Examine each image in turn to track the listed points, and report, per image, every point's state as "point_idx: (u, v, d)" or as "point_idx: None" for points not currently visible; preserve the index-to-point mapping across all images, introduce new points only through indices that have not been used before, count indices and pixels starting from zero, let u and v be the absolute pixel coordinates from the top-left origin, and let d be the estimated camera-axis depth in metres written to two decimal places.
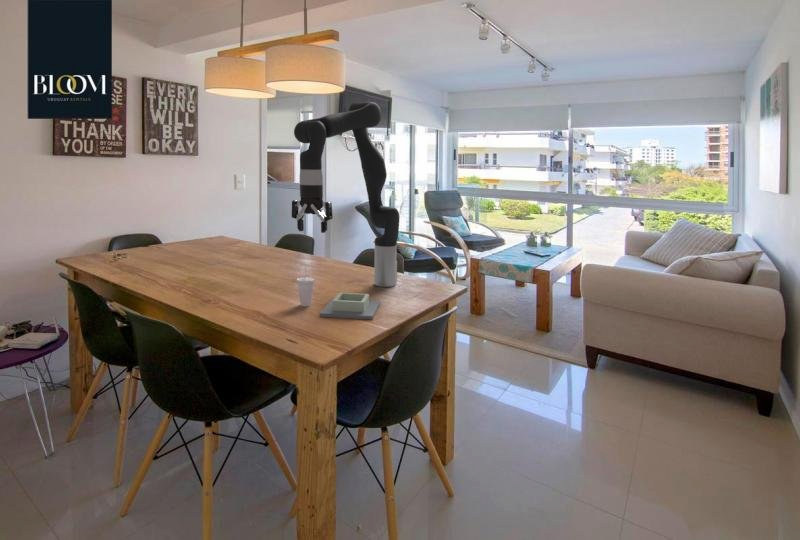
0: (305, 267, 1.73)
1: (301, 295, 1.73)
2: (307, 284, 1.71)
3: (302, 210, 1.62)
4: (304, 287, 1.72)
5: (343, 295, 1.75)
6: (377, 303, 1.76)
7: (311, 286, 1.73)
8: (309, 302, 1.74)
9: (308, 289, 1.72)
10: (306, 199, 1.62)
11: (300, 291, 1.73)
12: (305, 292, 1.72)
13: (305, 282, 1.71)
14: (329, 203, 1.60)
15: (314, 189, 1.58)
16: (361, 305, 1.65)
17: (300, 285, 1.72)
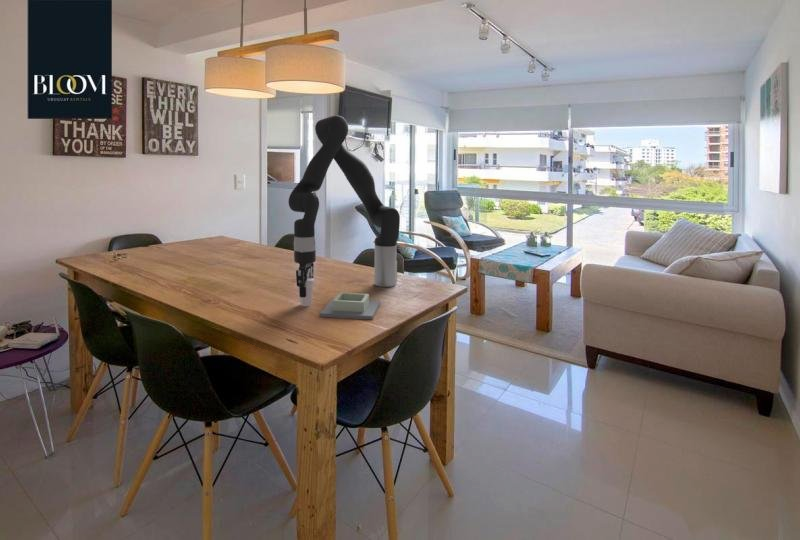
0: None
1: None
2: (307, 284, 1.71)
3: (308, 275, 1.71)
4: None
5: (343, 295, 1.75)
6: (377, 303, 1.76)
7: (311, 286, 1.73)
8: (309, 302, 1.74)
9: (308, 289, 1.72)
10: (307, 264, 1.71)
11: None
12: None
13: None
14: None
15: None
16: (361, 305, 1.65)
17: None
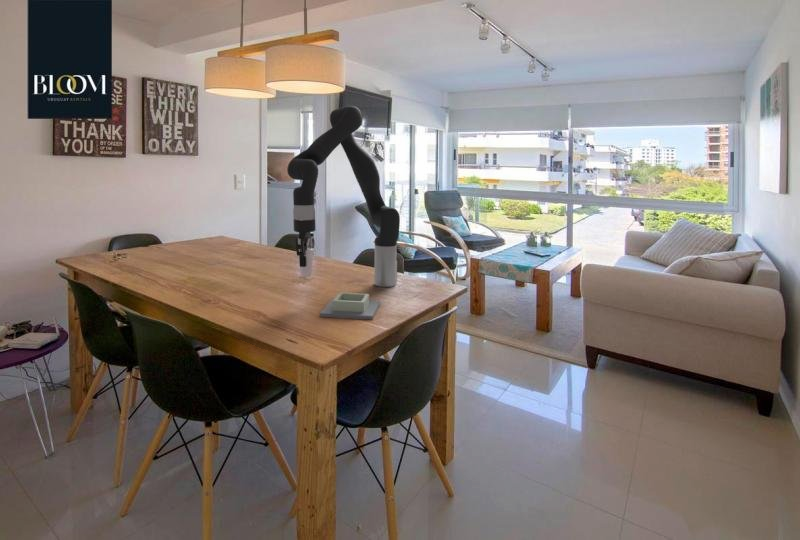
0: None
1: None
2: (307, 253, 1.69)
3: (308, 244, 1.69)
4: None
5: (343, 295, 1.75)
6: (377, 303, 1.76)
7: (311, 256, 1.71)
8: (309, 272, 1.72)
9: (308, 259, 1.70)
10: (306, 233, 1.69)
11: None
12: None
13: None
14: None
15: None
16: (361, 305, 1.65)
17: None
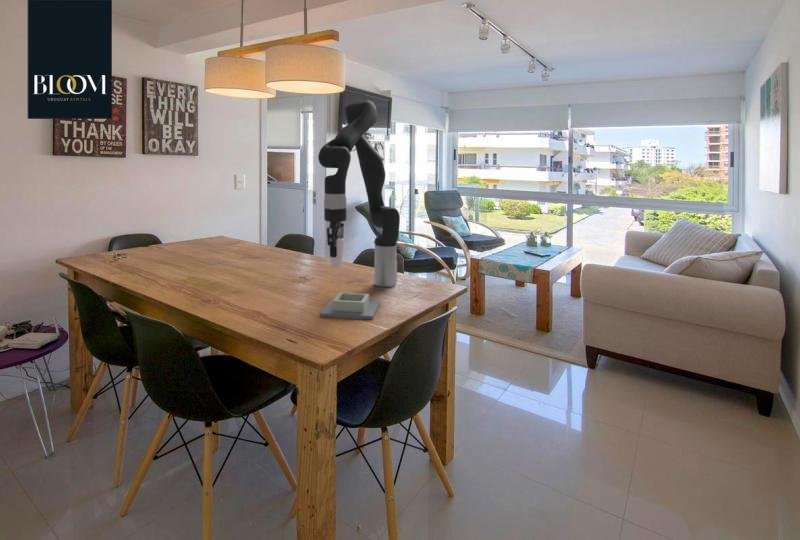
0: None
1: None
2: (338, 243, 1.65)
3: (338, 234, 1.65)
4: None
5: (343, 295, 1.75)
6: (377, 303, 1.76)
7: (342, 246, 1.67)
8: (339, 263, 1.68)
9: (339, 249, 1.66)
10: (337, 222, 1.65)
11: None
12: None
13: None
14: None
15: None
16: (361, 305, 1.65)
17: None
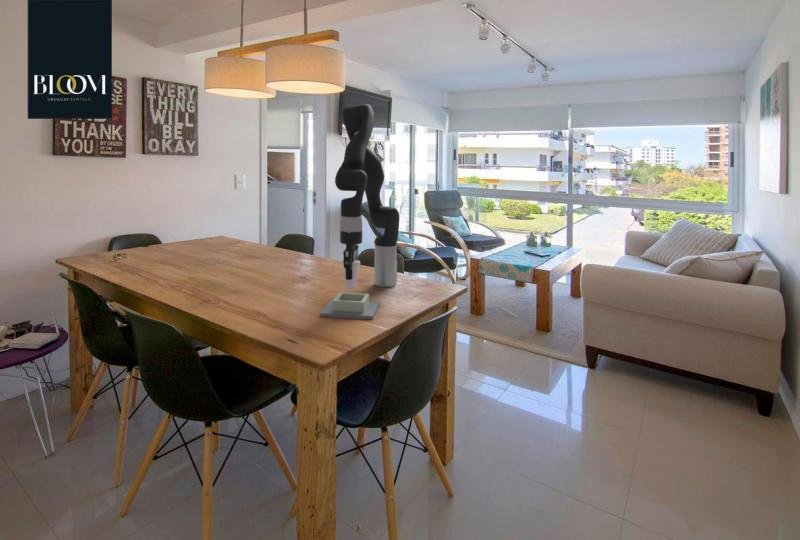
0: None
1: None
2: (353, 266, 1.65)
3: (354, 257, 1.65)
4: None
5: (343, 295, 1.75)
6: (377, 303, 1.76)
7: (357, 268, 1.67)
8: (355, 285, 1.68)
9: (354, 271, 1.66)
10: (353, 245, 1.65)
11: None
12: None
13: None
14: None
15: None
16: (361, 305, 1.65)
17: None
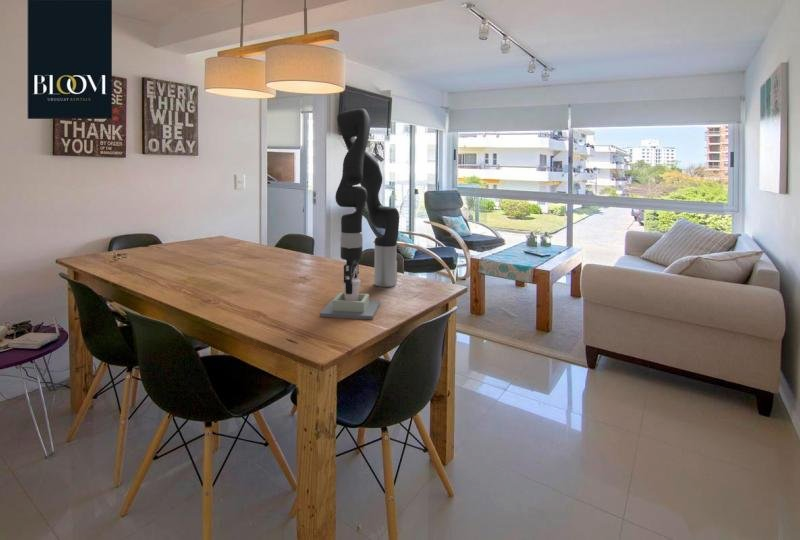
0: None
1: (347, 296, 1.68)
2: (354, 285, 1.67)
3: (354, 272, 1.65)
4: None
5: (343, 295, 1.75)
6: (377, 303, 1.76)
7: (358, 287, 1.68)
8: None
9: (355, 290, 1.68)
10: (354, 261, 1.66)
11: None
12: (352, 293, 1.68)
13: (352, 283, 1.66)
14: None
15: None
16: (361, 305, 1.65)
17: None
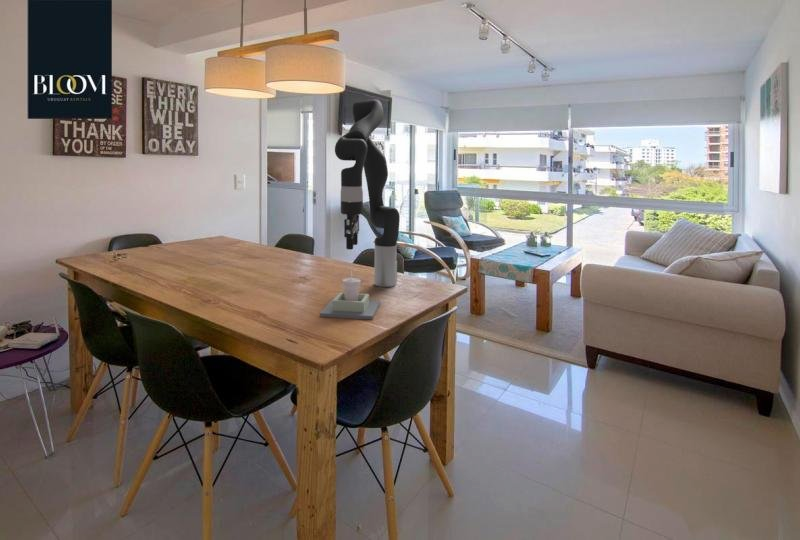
0: (351, 268, 1.68)
1: (347, 296, 1.68)
2: (354, 285, 1.67)
3: (355, 227, 1.63)
4: (351, 288, 1.67)
5: (343, 295, 1.75)
6: (377, 303, 1.76)
7: (358, 287, 1.68)
8: None
9: (355, 290, 1.68)
10: (354, 215, 1.64)
11: (346, 292, 1.68)
12: (352, 293, 1.68)
13: (352, 283, 1.66)
14: None
15: None
16: (361, 305, 1.65)
17: (347, 286, 1.67)
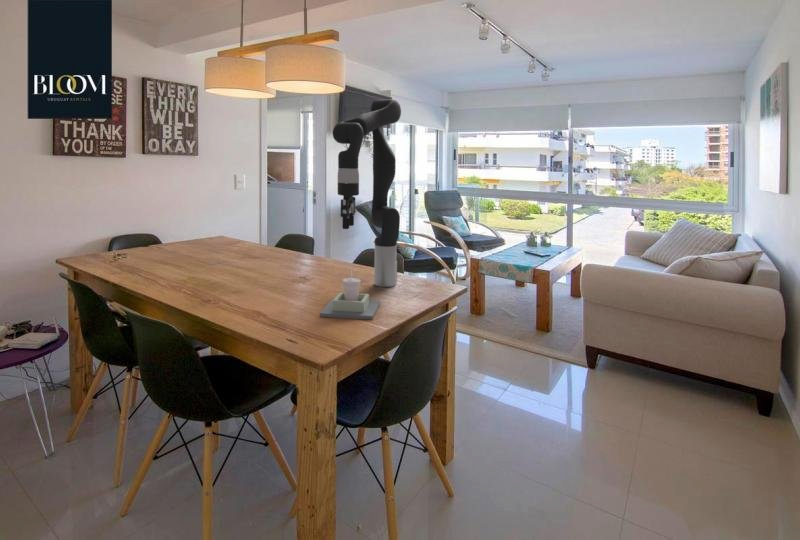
0: (351, 268, 1.68)
1: (347, 296, 1.68)
2: (354, 285, 1.67)
3: (351, 207, 1.70)
4: (351, 288, 1.67)
5: (343, 295, 1.75)
6: (377, 303, 1.76)
7: (358, 287, 1.68)
8: None
9: (355, 290, 1.68)
10: (350, 197, 1.71)
11: (346, 292, 1.68)
12: (352, 293, 1.68)
13: (352, 283, 1.66)
14: None
15: None
16: (361, 305, 1.65)
17: (347, 286, 1.67)
